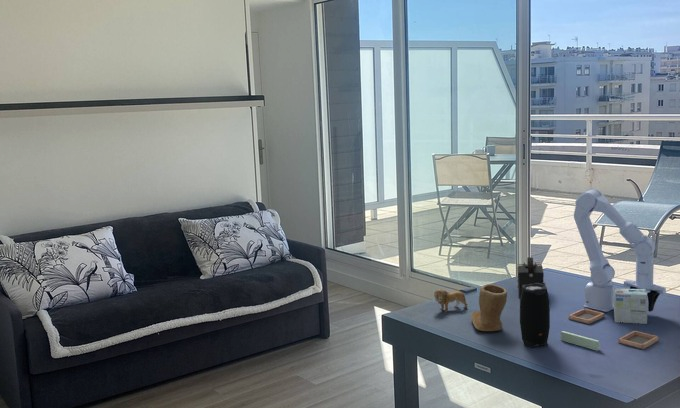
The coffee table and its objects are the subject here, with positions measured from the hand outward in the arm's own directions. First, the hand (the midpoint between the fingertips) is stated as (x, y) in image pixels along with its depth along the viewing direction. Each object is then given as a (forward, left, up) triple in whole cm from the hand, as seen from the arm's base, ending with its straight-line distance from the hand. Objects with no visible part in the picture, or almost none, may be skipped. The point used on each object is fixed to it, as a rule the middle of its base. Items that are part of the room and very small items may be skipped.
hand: (643, 309), depth 245 cm
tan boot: (-32, -47, -2) cm, 57 cm away
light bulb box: (0, -10, -2) cm, 10 cm away
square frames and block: (0, -27, -2) cm, 27 cm away
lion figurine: (-54, -42, -2) cm, 69 cm away
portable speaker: (-11, -50, -2) cm, 51 cm away
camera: (-43, -7, -2) cm, 44 cm away
